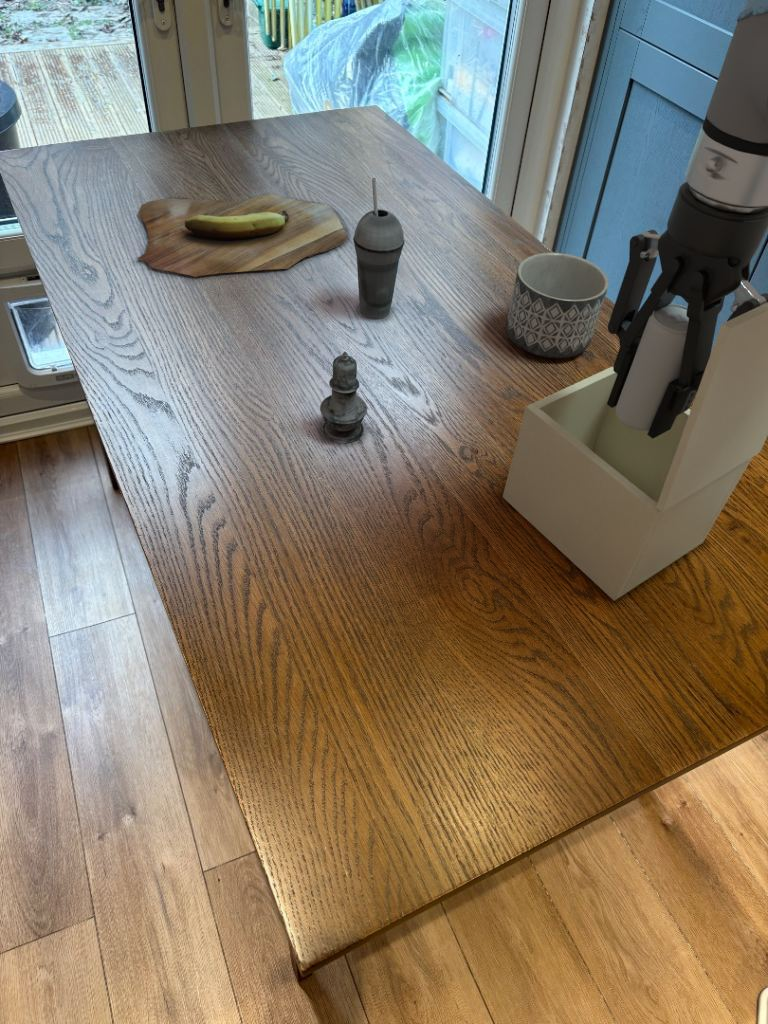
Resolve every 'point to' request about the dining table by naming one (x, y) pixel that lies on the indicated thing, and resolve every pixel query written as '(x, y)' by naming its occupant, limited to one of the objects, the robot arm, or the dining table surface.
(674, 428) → the cream box
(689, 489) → the box lid
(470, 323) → the dining table surface
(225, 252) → the cutting board
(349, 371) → the chess piece
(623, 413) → the beverage can
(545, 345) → the planter
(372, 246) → the beverage cup
